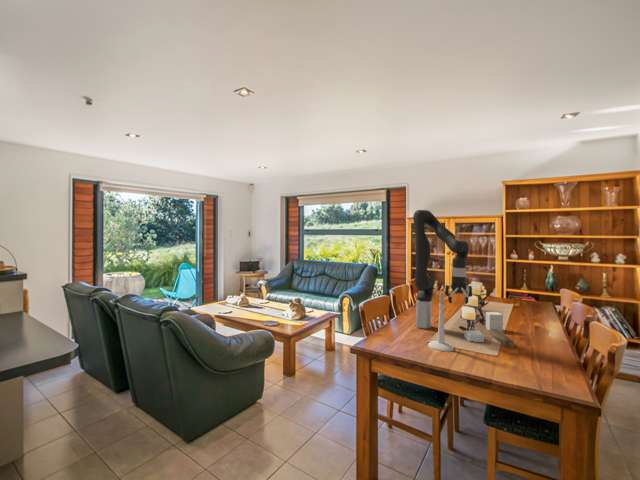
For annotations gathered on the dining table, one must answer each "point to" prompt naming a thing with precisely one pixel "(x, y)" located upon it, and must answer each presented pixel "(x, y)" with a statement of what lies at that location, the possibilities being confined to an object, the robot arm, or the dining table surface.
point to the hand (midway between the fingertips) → (458, 303)
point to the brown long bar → (501, 338)
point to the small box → (494, 321)
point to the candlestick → (441, 331)
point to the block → (474, 336)
